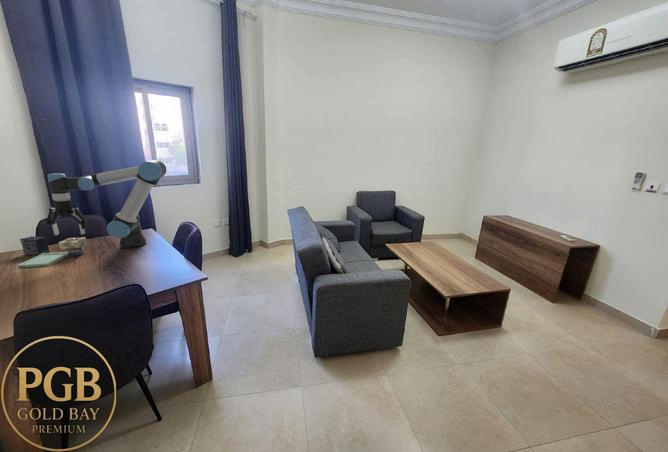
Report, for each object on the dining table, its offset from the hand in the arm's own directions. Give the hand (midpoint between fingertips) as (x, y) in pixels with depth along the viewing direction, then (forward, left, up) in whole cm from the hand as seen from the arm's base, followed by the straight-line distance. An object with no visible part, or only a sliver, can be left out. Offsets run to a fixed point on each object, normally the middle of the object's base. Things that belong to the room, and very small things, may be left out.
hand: (70, 234), depth 164 cm
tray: (+11, +7, -14) cm, 19 cm away
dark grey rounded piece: (0, 0, -14) cm, 14 cm away
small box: (+24, -6, -14) cm, 28 cm away
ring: (0, 0, -8) cm, 8 cm away
